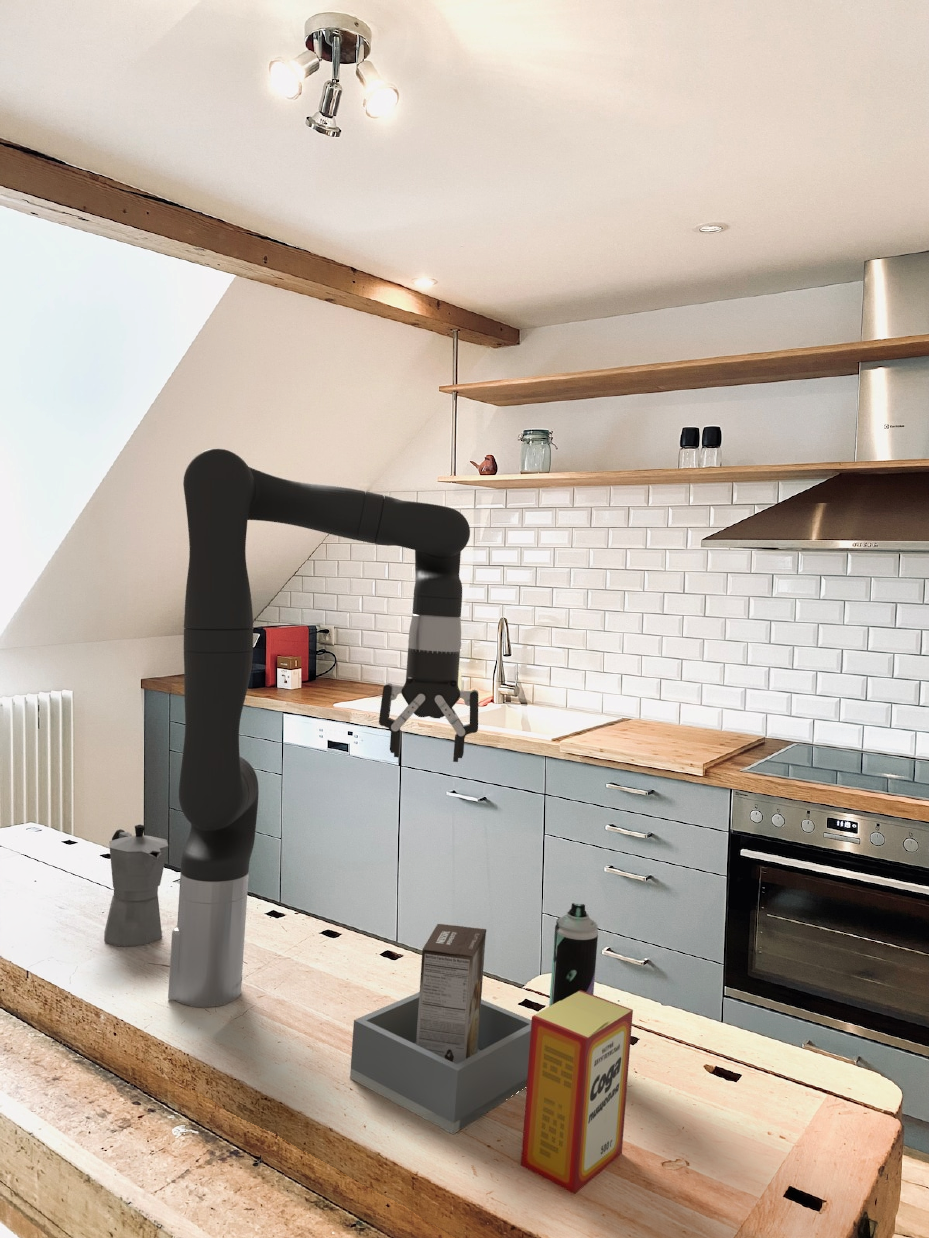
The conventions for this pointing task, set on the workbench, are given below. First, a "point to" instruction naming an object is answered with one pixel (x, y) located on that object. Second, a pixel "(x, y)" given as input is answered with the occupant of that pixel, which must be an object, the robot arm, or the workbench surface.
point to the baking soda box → (576, 1089)
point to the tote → (441, 1064)
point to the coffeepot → (135, 888)
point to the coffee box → (451, 992)
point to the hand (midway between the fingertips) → (426, 758)
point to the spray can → (573, 954)
